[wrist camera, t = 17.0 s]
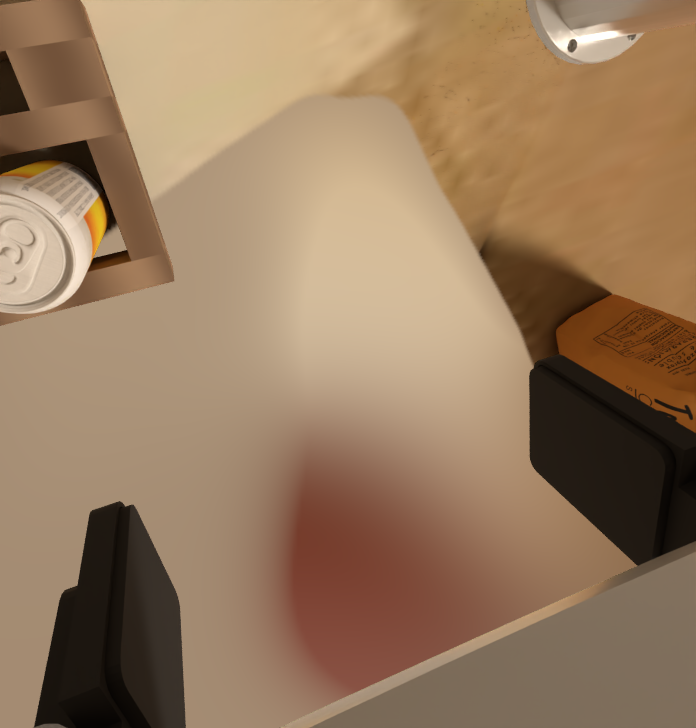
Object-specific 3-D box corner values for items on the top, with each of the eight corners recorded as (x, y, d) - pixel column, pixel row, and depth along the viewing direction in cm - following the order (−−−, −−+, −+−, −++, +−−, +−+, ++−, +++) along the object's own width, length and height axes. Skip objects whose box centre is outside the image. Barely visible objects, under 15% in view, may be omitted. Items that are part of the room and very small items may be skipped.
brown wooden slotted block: (85, 7, 32) (76, -6, 29) (172, 266, 40) (174, 281, 36) (-136, 39, 30) (-175, 29, 26) (3, 309, 37) (-12, 328, 34)
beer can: (-7, 219, 35) (-103, 278, 22) (36, 139, 34) (-39, 152, 21) (84, 267, 38) (46, 344, 25) (126, 194, 37) (109, 236, 24)
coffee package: (553, 414, 59) (739, 552, 40) (542, 319, 53) (754, 430, 34) (626, 378, 61) (838, 496, 42) (623, 282, 55) (870, 369, 36)
